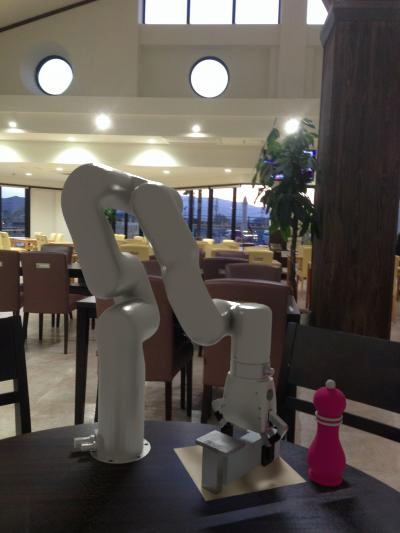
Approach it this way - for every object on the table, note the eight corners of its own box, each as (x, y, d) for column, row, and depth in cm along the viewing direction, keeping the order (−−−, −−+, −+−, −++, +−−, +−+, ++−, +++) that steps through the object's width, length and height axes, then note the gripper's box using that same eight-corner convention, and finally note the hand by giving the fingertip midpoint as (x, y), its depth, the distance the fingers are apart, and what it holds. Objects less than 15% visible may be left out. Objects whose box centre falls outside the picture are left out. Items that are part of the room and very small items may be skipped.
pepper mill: (347, 496, 81) (353, 388, 79) (306, 490, 82) (311, 384, 81) (342, 475, 88) (348, 375, 86) (304, 470, 89) (310, 372, 88)
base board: (205, 507, 76) (205, 500, 76) (173, 454, 94) (173, 448, 94) (306, 487, 83) (306, 481, 83) (258, 441, 101) (258, 436, 101)
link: (231, 488, 80) (232, 458, 79) (210, 477, 83) (211, 448, 83) (279, 456, 92) (280, 431, 91) (259, 448, 95) (260, 423, 95)
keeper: (213, 477, 85) (215, 430, 85) (242, 492, 81) (245, 442, 80) (193, 489, 81) (195, 439, 80) (223, 506, 76) (226, 453, 76)
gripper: (299, 374, 83) (295, 464, 84) (226, 355, 94) (223, 434, 95) (278, 384, 77) (273, 479, 78) (202, 362, 88) (199, 445, 90)
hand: (245, 454), depth 87 cm, fingers open, 9 cm apart
